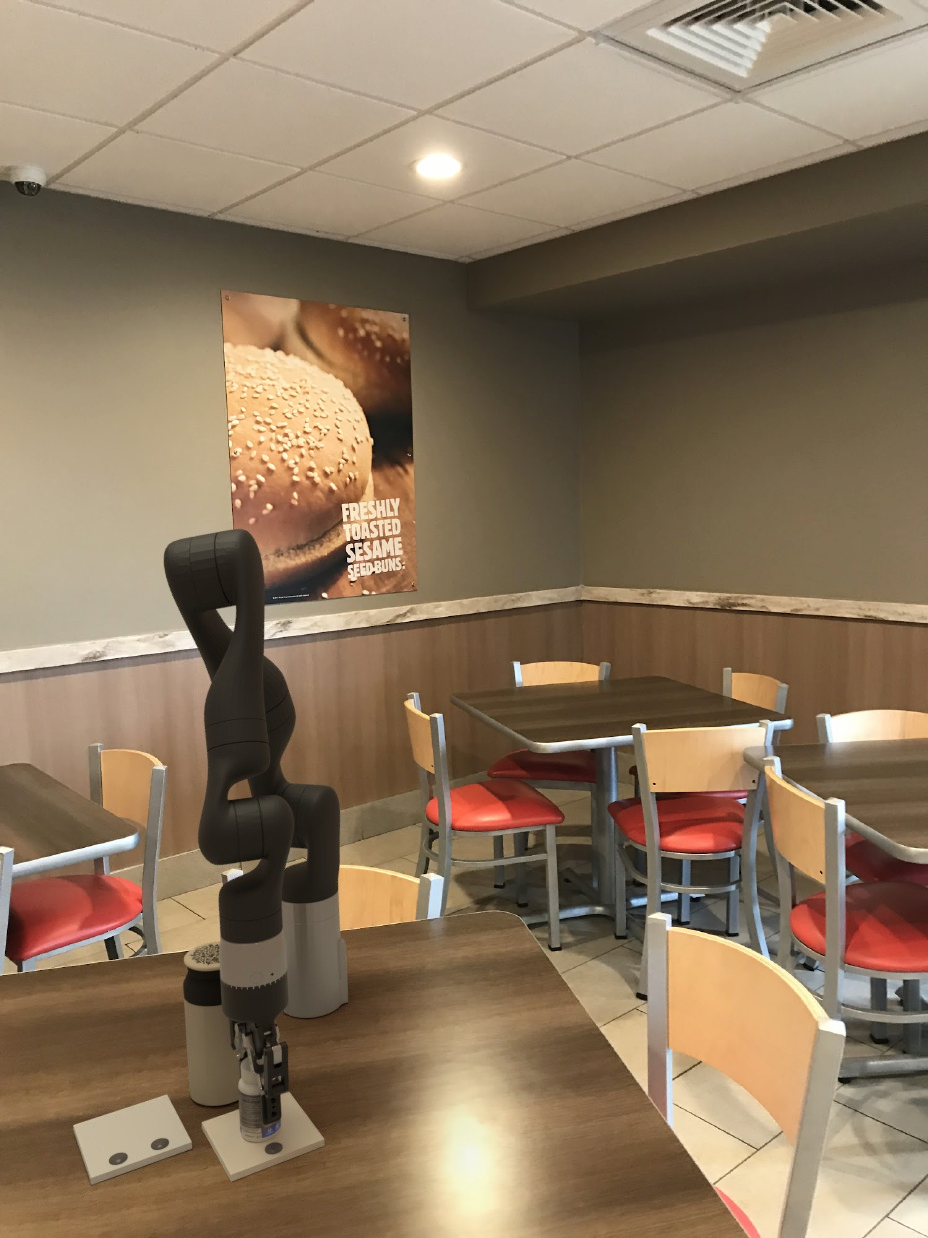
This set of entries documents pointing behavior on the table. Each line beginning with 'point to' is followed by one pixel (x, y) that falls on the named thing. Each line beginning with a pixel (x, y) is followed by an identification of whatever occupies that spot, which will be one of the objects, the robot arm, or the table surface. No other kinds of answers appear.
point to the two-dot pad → (130, 1138)
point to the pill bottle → (253, 1107)
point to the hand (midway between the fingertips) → (260, 1105)
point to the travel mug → (208, 1031)
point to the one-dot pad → (256, 1156)
